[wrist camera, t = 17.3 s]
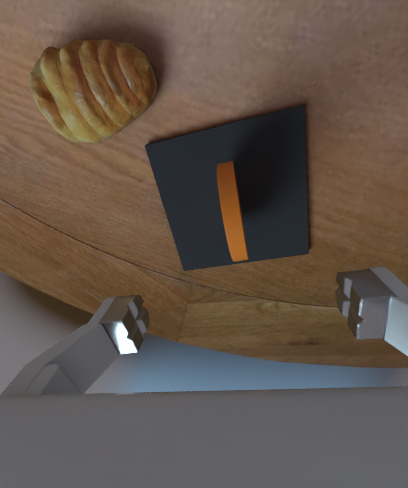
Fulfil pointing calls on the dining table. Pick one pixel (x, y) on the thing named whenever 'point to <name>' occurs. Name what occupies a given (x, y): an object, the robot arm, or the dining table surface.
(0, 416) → the robot arm
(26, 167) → the dining table surface
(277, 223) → the mat
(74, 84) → the pastry
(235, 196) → the orange disc
